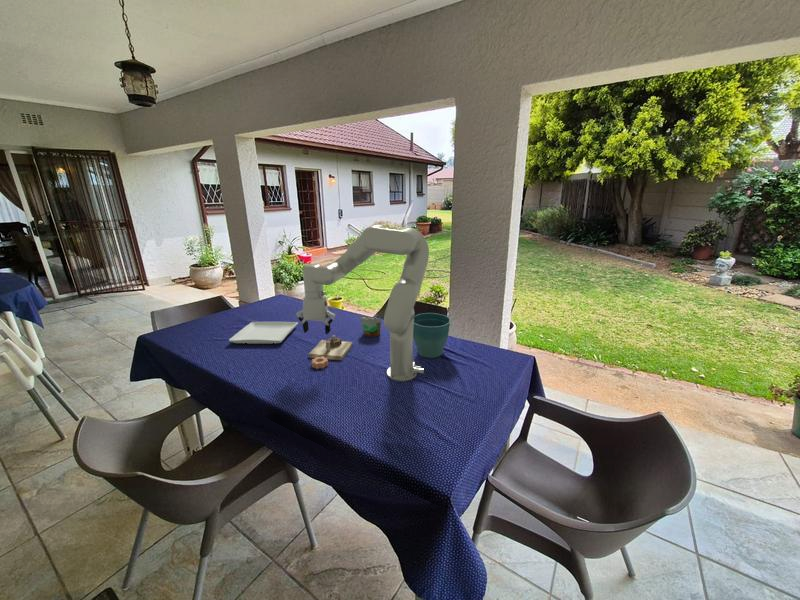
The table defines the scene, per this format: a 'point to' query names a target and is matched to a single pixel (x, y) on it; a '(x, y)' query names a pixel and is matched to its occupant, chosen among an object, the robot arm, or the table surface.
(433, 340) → the flower pot
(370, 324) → the food container
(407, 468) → the table surface
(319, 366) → the terracotta gear
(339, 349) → the gear board
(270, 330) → the square plate
